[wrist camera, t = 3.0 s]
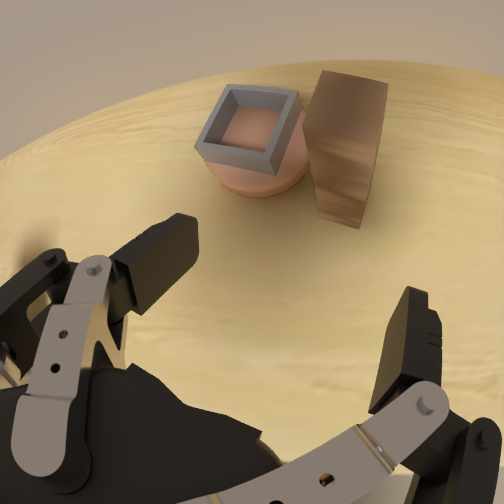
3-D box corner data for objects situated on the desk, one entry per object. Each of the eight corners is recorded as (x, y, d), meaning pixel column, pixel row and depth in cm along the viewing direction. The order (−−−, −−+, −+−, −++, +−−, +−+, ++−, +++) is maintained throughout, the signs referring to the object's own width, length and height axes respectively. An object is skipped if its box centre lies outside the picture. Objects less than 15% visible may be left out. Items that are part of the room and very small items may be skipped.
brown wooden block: (370, 187, 24) (388, 83, 12) (359, 229, 24) (377, 143, 12) (332, 176, 25) (322, 70, 13) (319, 217, 25) (301, 126, 13)
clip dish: (325, 120, 27) (321, 82, 22) (294, 210, 26) (284, 183, 20) (235, 106, 30) (218, 73, 25) (198, 185, 29) (171, 158, 24)
